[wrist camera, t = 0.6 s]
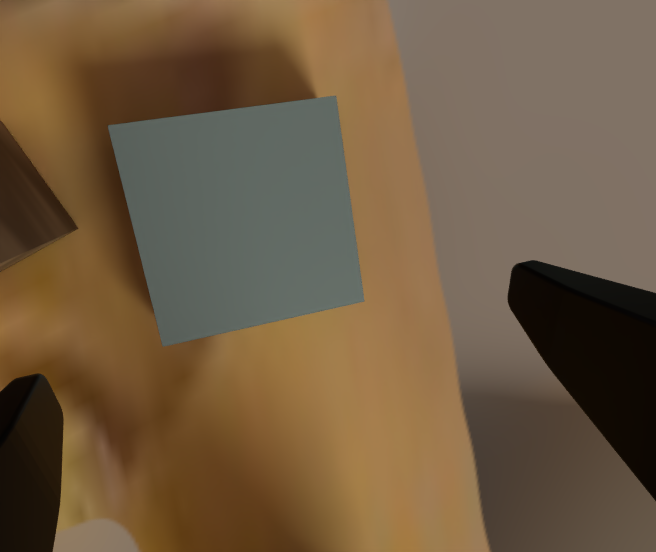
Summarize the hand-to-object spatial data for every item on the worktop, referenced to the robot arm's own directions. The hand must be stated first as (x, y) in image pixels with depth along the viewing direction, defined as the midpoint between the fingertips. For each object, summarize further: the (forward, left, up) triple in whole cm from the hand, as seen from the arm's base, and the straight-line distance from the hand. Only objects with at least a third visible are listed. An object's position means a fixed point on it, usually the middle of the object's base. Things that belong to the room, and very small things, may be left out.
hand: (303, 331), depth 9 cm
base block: (+1, 0, -15) cm, 15 cm away
